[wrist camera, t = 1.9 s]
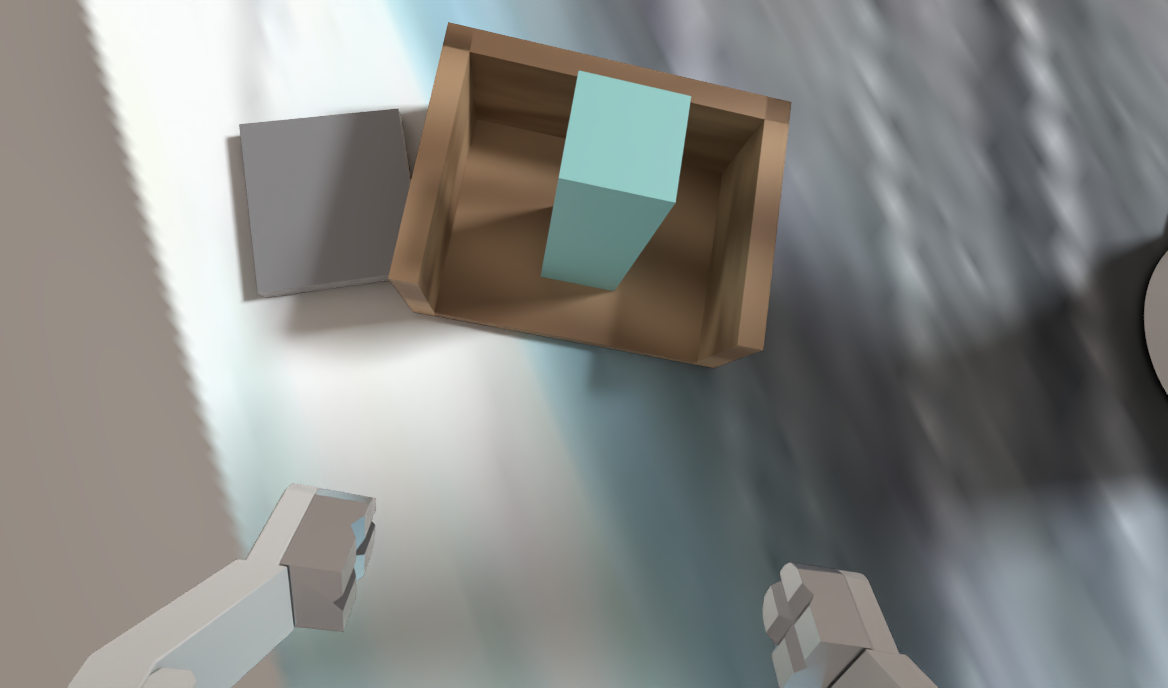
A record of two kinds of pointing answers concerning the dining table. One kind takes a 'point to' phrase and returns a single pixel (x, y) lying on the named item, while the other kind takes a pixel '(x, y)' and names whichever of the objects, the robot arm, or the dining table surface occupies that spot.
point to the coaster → (324, 199)
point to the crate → (526, 198)
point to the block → (614, 178)
